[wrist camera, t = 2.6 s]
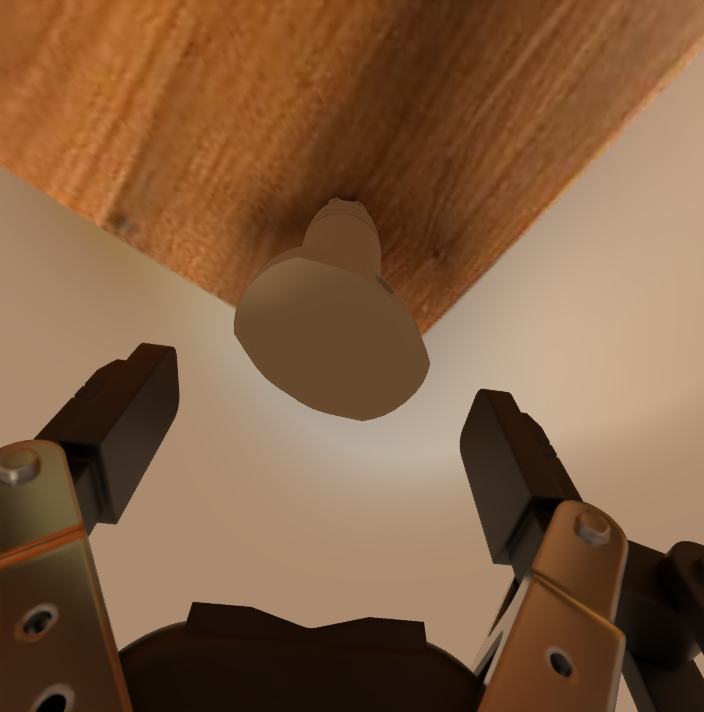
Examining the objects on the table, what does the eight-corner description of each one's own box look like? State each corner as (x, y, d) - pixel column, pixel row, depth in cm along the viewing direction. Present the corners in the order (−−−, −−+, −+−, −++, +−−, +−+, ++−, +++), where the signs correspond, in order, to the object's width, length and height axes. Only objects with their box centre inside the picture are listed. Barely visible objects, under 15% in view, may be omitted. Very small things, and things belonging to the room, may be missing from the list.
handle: (356, 282, 28) (359, 440, 16) (278, 217, 26) (205, 340, 13) (408, 227, 26) (459, 357, 14) (328, 152, 24) (299, 222, 11)
